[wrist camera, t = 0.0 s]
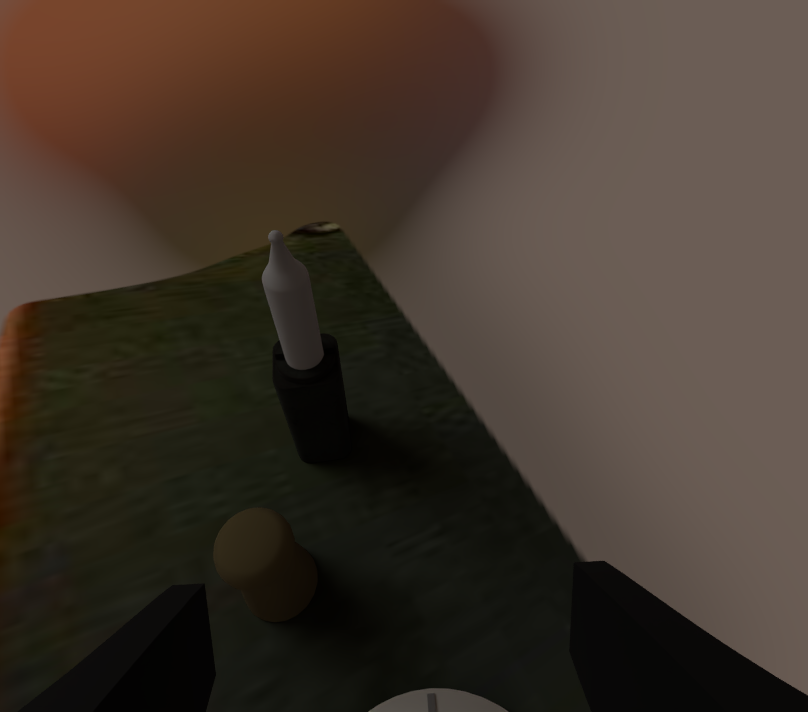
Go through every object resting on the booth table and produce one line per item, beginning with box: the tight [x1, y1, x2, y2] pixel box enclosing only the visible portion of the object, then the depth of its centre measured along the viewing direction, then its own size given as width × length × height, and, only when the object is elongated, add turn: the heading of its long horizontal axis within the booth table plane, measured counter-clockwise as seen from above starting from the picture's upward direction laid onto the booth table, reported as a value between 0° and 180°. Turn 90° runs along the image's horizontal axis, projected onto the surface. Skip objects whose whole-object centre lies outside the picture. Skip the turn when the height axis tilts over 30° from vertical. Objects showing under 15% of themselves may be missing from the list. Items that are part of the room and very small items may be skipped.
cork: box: [213, 507, 318, 622], centre depth 35 cm, size 6×6×11 cm
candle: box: [262, 230, 352, 463], centre depth 38 cm, size 5×5×25 cm
